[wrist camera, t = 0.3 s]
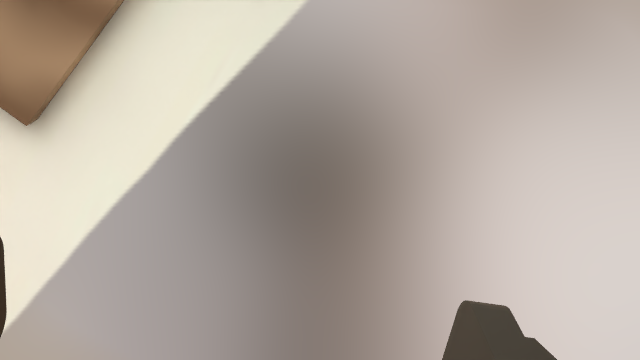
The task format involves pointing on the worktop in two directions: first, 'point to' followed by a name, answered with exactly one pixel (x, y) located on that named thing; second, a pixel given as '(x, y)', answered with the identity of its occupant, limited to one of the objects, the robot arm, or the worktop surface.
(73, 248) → the worktop surface
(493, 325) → the robot arm
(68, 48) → the walnut base
